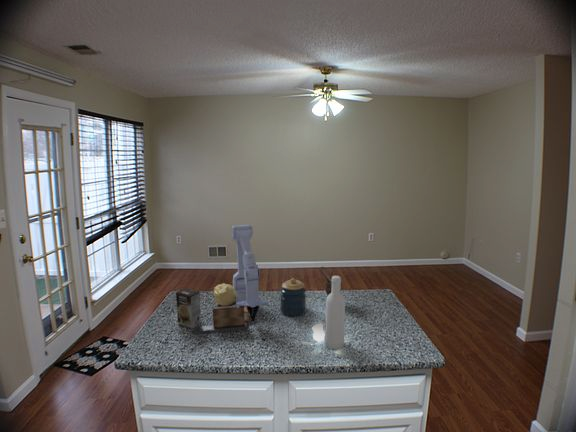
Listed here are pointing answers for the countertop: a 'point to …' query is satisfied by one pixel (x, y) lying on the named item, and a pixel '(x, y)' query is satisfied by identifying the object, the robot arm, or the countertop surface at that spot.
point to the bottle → (335, 316)
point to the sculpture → (224, 294)
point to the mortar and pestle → (328, 281)
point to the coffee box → (188, 307)
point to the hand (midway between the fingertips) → (253, 320)
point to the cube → (246, 314)
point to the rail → (217, 328)
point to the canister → (293, 298)
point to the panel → (228, 316)
